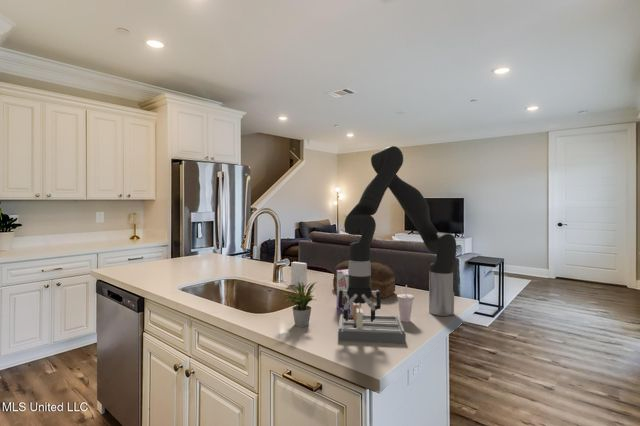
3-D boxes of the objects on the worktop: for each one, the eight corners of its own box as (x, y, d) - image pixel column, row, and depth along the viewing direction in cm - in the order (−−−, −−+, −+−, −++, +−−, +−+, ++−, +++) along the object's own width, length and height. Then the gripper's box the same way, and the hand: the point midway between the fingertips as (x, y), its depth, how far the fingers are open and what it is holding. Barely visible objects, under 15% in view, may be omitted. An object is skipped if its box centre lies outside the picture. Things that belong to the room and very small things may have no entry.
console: (399, 325, 130) (399, 315, 130) (405, 343, 114) (405, 331, 114) (339, 323, 132) (340, 313, 132) (338, 340, 116) (338, 329, 116)
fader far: (358, 316, 130) (358, 301, 129) (358, 320, 125) (359, 304, 125) (353, 316, 130) (353, 300, 130) (353, 320, 125) (353, 304, 125)
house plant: (302, 314, 142) (302, 274, 142) (328, 322, 134) (329, 279, 133) (276, 323, 131) (276, 280, 131) (303, 332, 123) (304, 286, 122)
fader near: (362, 324, 122) (362, 307, 121) (362, 328, 117) (362, 311, 117) (356, 323, 122) (356, 307, 121) (356, 328, 117) (356, 311, 117)
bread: (385, 299, 164) (386, 266, 164) (329, 289, 183) (329, 259, 182) (398, 293, 176) (398, 261, 176) (344, 284, 195) (344, 255, 194)
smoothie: (401, 324, 132) (402, 287, 131) (393, 318, 138) (394, 283, 137) (416, 322, 133) (417, 286, 133) (408, 317, 140) (408, 282, 139)
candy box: (335, 307, 152) (336, 269, 152) (348, 305, 154) (348, 268, 154) (348, 317, 139) (349, 276, 139) (362, 315, 141) (362, 275, 141)
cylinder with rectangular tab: (310, 283, 195) (310, 262, 194) (300, 287, 187) (300, 264, 187) (297, 281, 199) (297, 260, 199) (287, 285, 192) (287, 263, 191)
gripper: (379, 271, 122) (379, 317, 122) (339, 270, 123) (338, 316, 124) (381, 276, 114) (381, 325, 115) (338, 275, 116) (337, 323, 116)
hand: (359, 320), depth 119 cm, fingers open, 8 cm apart
